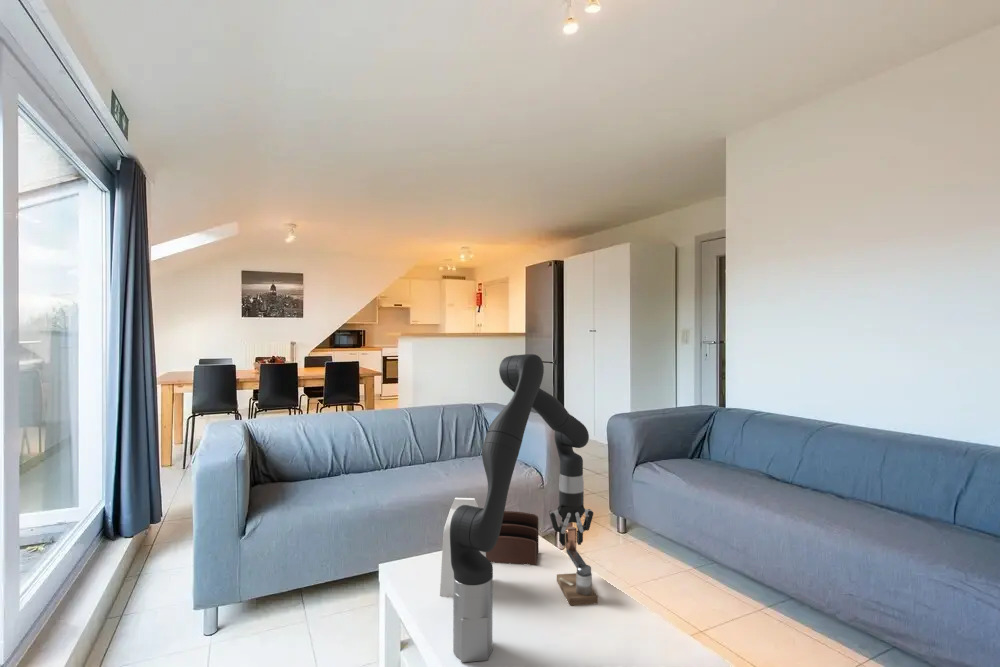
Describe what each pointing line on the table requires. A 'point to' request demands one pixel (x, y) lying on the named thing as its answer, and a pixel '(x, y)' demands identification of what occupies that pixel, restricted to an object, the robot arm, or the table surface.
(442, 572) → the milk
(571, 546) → the lever
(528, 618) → the table surface
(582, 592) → the press bench
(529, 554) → the letter holder
